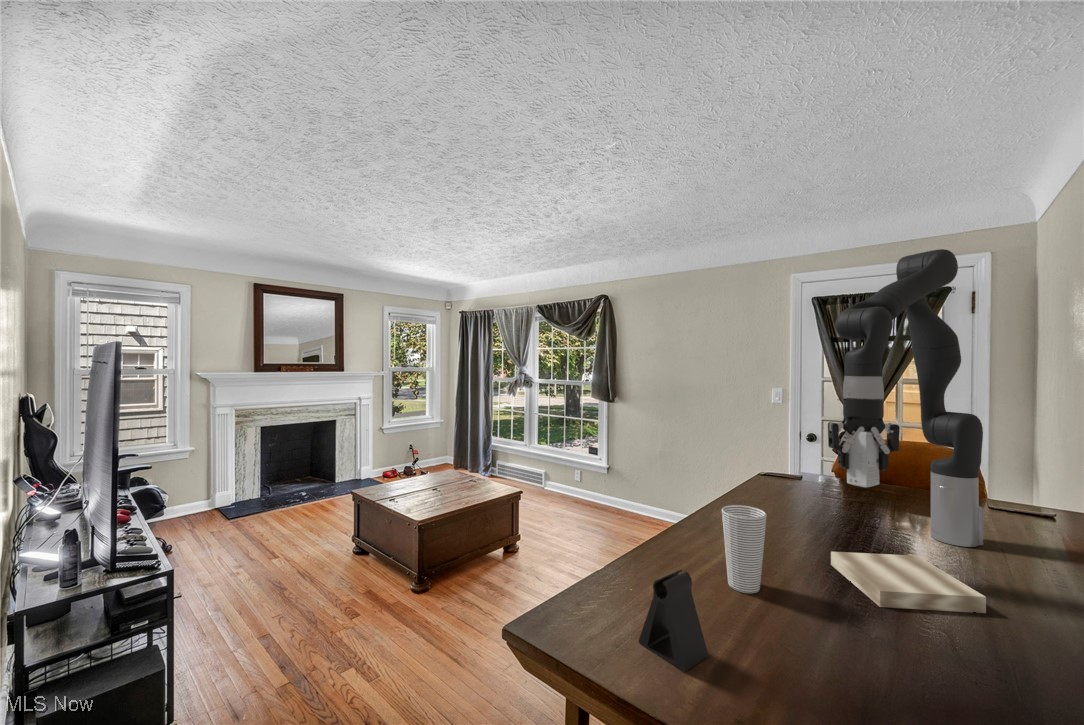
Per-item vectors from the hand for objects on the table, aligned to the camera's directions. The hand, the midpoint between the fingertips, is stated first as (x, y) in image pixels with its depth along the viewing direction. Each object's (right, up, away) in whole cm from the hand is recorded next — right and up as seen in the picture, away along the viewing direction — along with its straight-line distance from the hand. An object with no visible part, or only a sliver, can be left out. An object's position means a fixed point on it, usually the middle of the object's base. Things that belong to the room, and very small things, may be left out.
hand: (862, 469), depth 102 cm
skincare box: (0, -4, 0) cm, 4 cm away
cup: (-31, -22, -9) cm, 39 cm away
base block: (+1, -22, -9) cm, 24 cm away
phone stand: (-52, -22, -30) cm, 64 cm away
